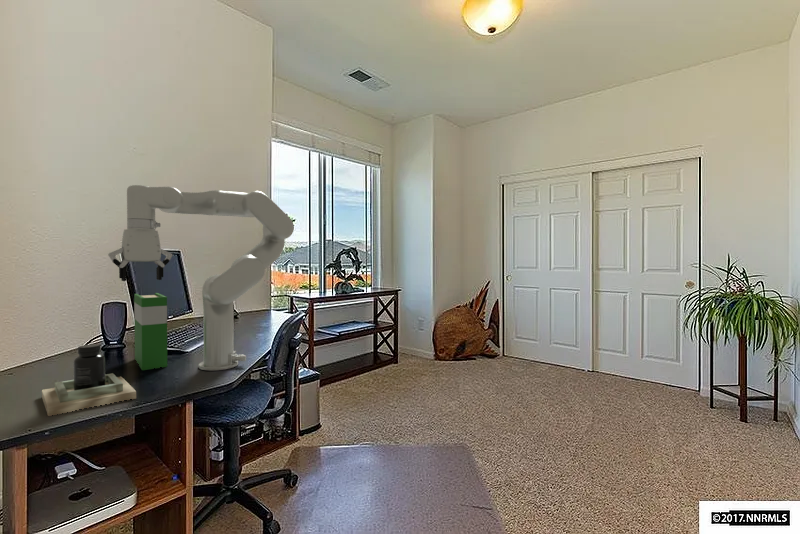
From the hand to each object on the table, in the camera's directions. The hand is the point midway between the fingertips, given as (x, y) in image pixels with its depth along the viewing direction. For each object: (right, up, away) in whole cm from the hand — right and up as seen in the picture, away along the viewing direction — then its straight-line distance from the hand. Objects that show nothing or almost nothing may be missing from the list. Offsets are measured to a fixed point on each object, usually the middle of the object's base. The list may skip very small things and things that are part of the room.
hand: (141, 280), depth 130 cm
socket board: (-2, -31, -19) cm, 37 cm away
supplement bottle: (-2, -29, -19) cm, 35 cm away
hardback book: (-7, -30, +16) cm, 35 cm away
